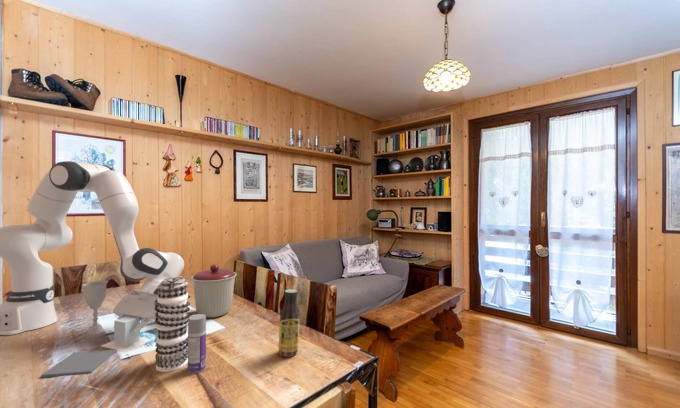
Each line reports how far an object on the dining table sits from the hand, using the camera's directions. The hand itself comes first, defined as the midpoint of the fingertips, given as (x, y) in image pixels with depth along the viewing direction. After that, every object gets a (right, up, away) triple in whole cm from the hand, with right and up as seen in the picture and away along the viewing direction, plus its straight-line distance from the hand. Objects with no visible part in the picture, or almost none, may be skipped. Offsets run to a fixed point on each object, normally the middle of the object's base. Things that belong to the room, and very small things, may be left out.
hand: (125, 331), depth 98 cm
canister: (+18, -5, +28) cm, 34 cm away
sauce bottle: (+56, -5, -5) cm, 56 cm away
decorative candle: (+23, -5, -12) cm, 26 cm away
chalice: (-18, -4, +9) cm, 20 cm away
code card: (0, -4, +1) cm, 4 cm away
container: (+31, -5, -14) cm, 35 cm away
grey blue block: (0, -4, +1) cm, 4 cm away
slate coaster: (-4, -4, -12) cm, 13 cm away
